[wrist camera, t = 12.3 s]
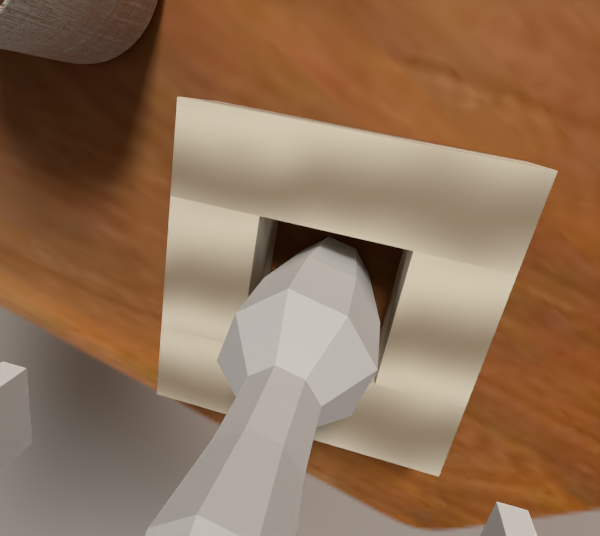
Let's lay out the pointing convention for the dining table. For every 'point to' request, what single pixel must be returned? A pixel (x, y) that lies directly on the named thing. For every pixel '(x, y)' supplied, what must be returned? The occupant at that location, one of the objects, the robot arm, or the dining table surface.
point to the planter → (73, 28)
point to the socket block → (358, 224)
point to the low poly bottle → (280, 394)
